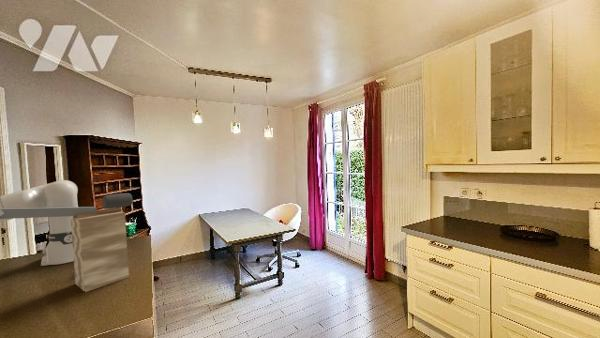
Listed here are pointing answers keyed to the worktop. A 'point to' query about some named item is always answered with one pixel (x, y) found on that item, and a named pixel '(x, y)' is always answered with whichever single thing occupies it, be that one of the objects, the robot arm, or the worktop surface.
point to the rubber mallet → (117, 200)
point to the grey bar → (45, 212)
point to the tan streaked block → (99, 248)
